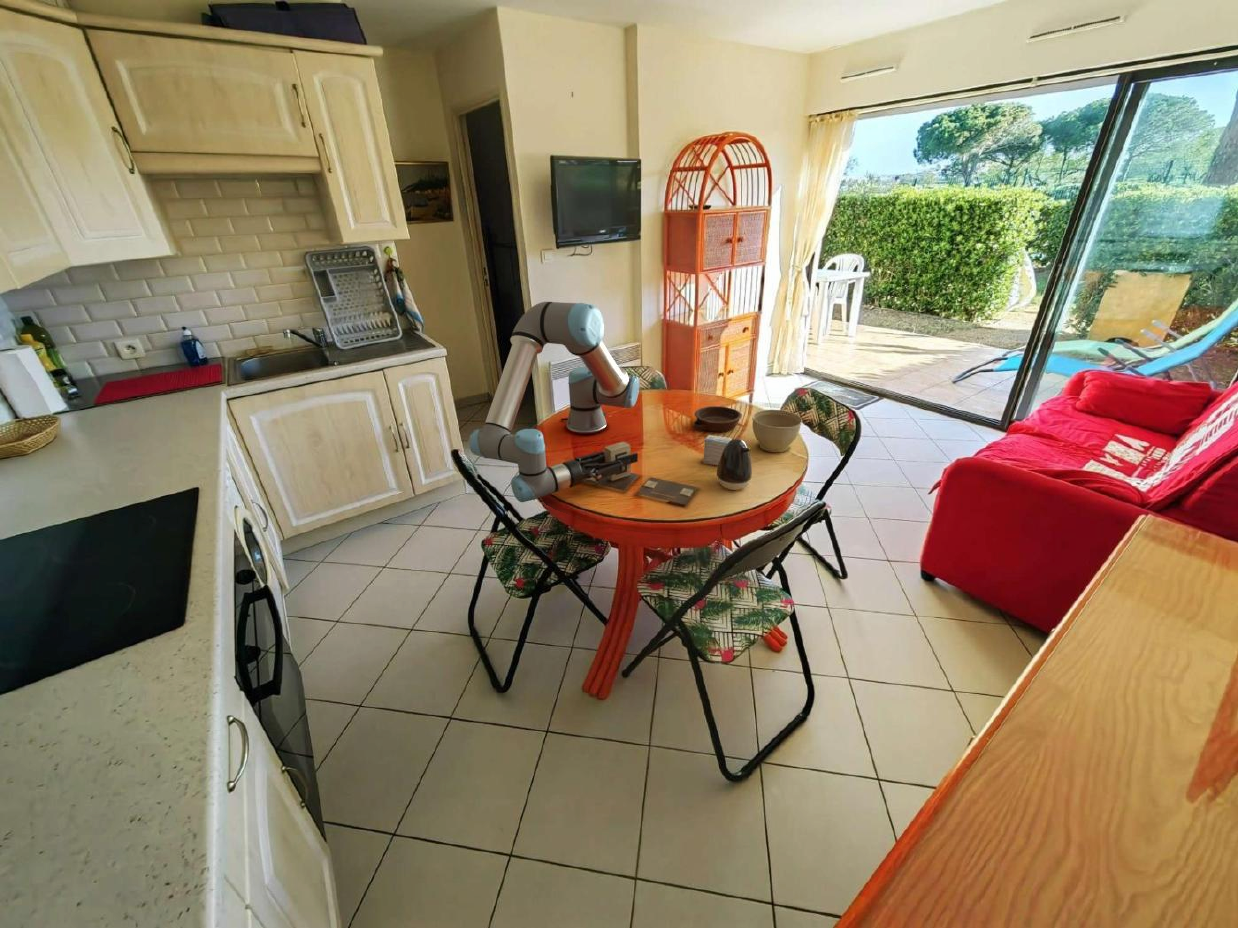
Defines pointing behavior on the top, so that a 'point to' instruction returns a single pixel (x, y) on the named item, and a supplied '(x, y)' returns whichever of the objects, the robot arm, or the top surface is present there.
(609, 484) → the left mat
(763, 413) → the planter bowl
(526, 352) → the robot arm
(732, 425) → the dish
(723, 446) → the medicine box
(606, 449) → the small grey cuboid
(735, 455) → the pump dispenser
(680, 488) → the right mat
